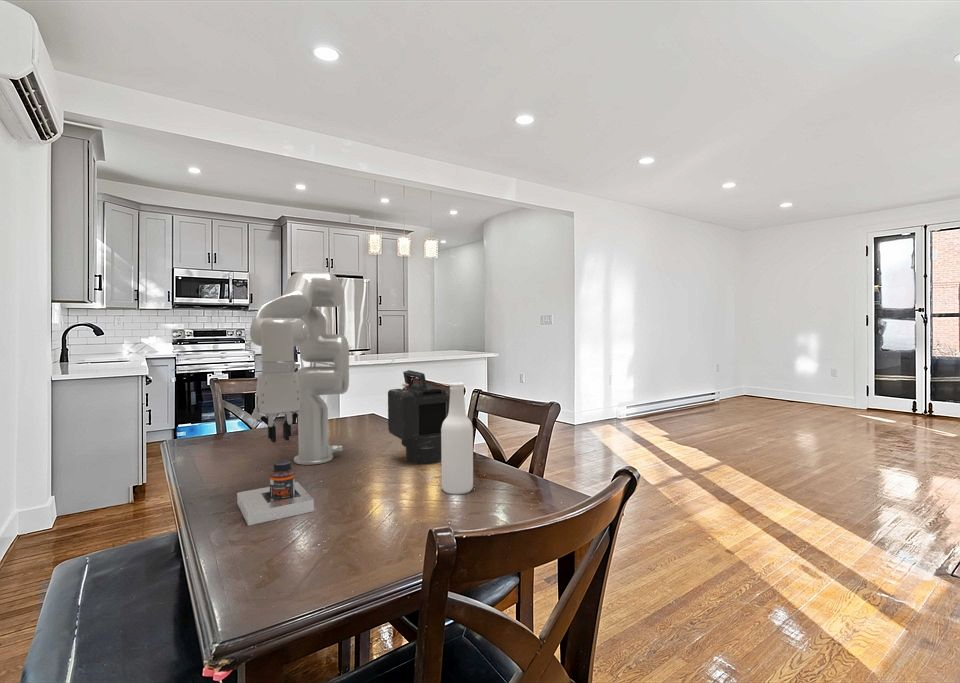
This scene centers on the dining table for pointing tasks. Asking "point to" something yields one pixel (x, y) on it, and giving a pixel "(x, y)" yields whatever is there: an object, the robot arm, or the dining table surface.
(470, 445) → the alcohol
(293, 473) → the supplement bottle
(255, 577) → the dining table surface
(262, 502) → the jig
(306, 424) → the robot arm
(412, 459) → the lantern
